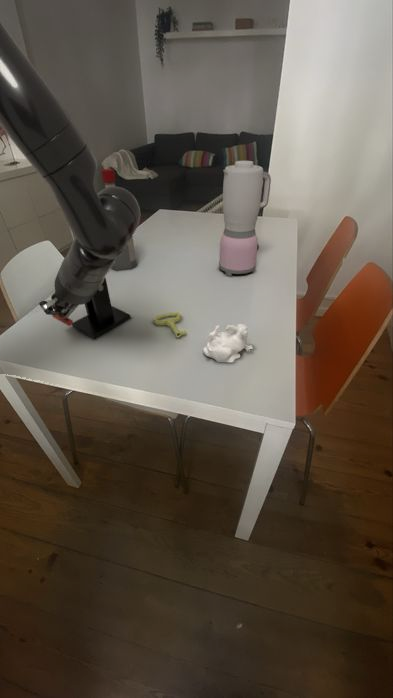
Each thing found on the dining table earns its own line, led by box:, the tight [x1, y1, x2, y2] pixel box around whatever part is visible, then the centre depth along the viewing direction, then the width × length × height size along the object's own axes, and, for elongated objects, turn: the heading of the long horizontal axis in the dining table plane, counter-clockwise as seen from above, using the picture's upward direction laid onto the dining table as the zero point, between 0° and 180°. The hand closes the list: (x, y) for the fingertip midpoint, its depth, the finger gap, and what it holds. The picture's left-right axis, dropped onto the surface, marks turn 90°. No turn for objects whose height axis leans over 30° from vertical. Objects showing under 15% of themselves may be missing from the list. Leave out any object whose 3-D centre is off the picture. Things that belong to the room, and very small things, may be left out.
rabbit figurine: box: [202, 323, 254, 363], centre depth 68 cm, size 12×8×10 cm, turn 94°
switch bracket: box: [71, 277, 131, 340], centre depth 80 cm, size 12×9×13 cm
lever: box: [51, 305, 80, 327], centre depth 75 cm, size 13×6×2 cm, turn 143°
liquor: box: [100, 168, 138, 272], centre depth 104 cm, size 9×9×30 cm
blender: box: [218, 160, 272, 277], centre depth 99 cm, size 16×12×32 cm
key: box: [153, 311, 187, 338], centre depth 81 cm, size 7×12×2 cm, turn 39°
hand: (61, 312), depth 72 cm, fingers closed
